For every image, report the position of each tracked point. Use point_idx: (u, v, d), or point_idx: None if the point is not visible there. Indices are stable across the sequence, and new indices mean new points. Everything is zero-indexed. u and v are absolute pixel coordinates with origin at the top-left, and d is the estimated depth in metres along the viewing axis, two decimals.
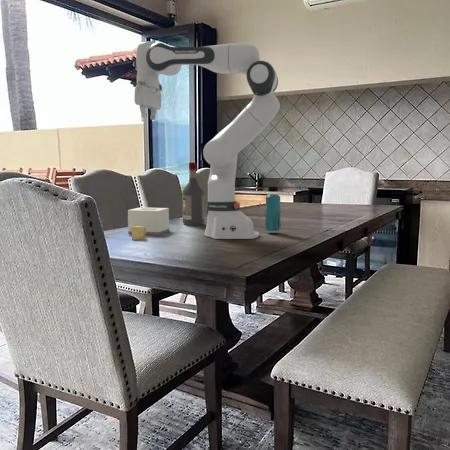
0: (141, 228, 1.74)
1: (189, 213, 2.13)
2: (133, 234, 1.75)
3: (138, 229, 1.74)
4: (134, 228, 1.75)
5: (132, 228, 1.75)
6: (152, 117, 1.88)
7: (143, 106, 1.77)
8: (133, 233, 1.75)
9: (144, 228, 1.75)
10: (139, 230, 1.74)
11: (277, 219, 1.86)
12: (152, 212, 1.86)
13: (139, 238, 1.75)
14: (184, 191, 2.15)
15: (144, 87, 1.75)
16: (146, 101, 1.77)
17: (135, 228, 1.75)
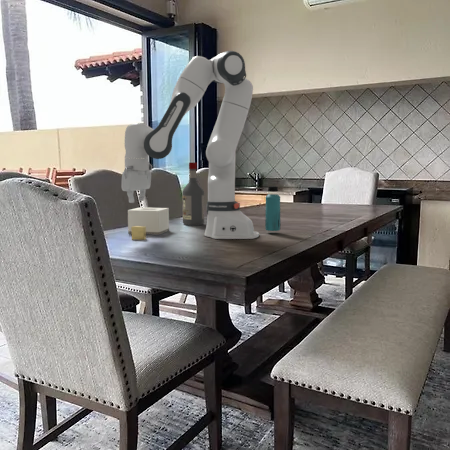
0: (141, 228, 1.74)
1: (189, 213, 2.13)
2: (133, 234, 1.75)
3: (138, 229, 1.74)
4: (134, 228, 1.75)
5: (132, 228, 1.75)
6: (141, 198, 1.78)
7: (131, 192, 1.67)
8: (133, 233, 1.75)
9: (144, 228, 1.75)
10: (139, 230, 1.74)
11: (277, 219, 1.86)
12: (152, 212, 1.86)
13: (139, 238, 1.75)
14: (184, 191, 2.15)
15: (132, 173, 1.65)
16: (134, 187, 1.67)
17: (135, 228, 1.75)
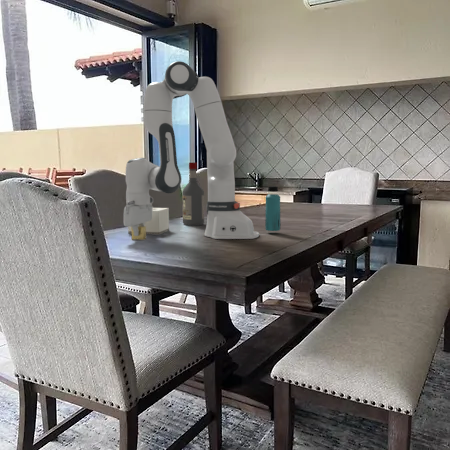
0: (141, 228, 1.74)
1: (189, 213, 2.13)
2: (133, 234, 1.75)
3: (138, 229, 1.74)
4: None
5: (132, 228, 1.75)
6: None
7: (135, 225, 1.72)
8: (133, 233, 1.75)
9: (144, 228, 1.75)
10: (139, 229, 1.74)
11: (277, 219, 1.86)
12: (152, 212, 1.86)
13: (139, 238, 1.75)
14: (184, 191, 2.15)
15: (133, 208, 1.67)
16: (135, 222, 1.69)
17: None
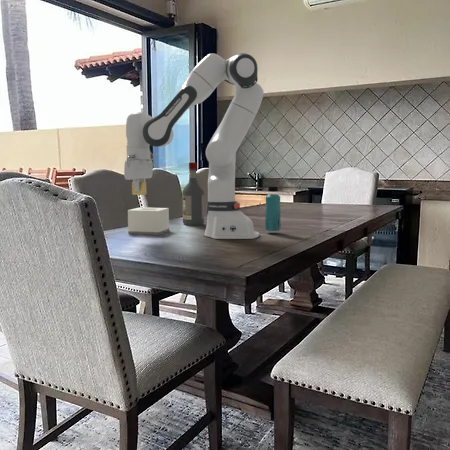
0: (141, 183, 1.74)
1: (189, 213, 2.13)
2: (133, 189, 1.75)
3: None
4: None
5: (132, 183, 1.75)
6: None
7: (136, 180, 1.72)
8: (133, 188, 1.75)
9: (144, 183, 1.75)
10: (139, 185, 1.75)
11: (277, 219, 1.86)
12: (152, 212, 1.86)
13: (140, 193, 1.75)
14: (184, 191, 2.15)
15: (134, 161, 1.67)
16: (136, 175, 1.69)
17: None
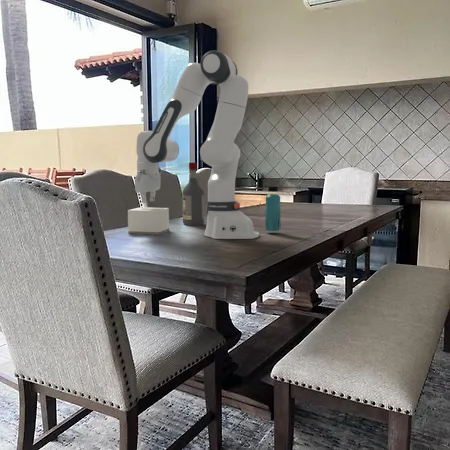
0: None
1: (189, 213, 2.13)
2: None
3: None
4: None
5: None
6: (151, 199, 1.96)
7: (143, 193, 1.86)
8: None
9: None
10: None
11: (277, 219, 1.86)
12: (152, 212, 1.86)
13: None
14: (184, 191, 2.15)
15: (144, 176, 1.83)
16: (146, 189, 1.85)
17: None
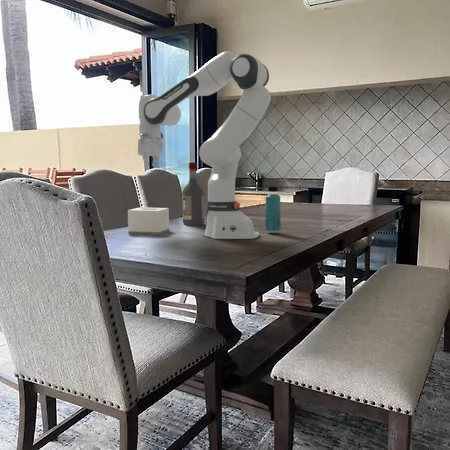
0: None
1: (189, 213, 2.13)
2: None
3: None
4: None
5: None
6: (154, 164, 1.97)
7: (146, 156, 1.87)
8: None
9: None
10: None
11: (277, 219, 1.86)
12: (152, 212, 1.86)
13: None
14: (184, 191, 2.15)
15: (147, 139, 1.84)
16: (149, 152, 1.86)
17: None
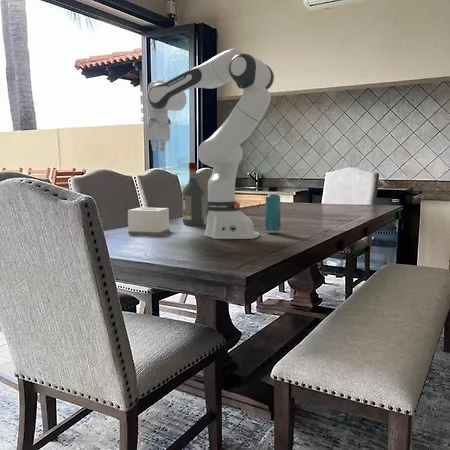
0: None
1: (189, 213, 2.13)
2: None
3: None
4: None
5: None
6: (161, 149, 2.04)
7: (154, 140, 1.93)
8: None
9: None
10: None
11: (277, 219, 1.86)
12: (152, 212, 1.86)
13: None
14: (184, 191, 2.15)
15: (155, 123, 1.91)
16: (156, 136, 1.93)
17: None
